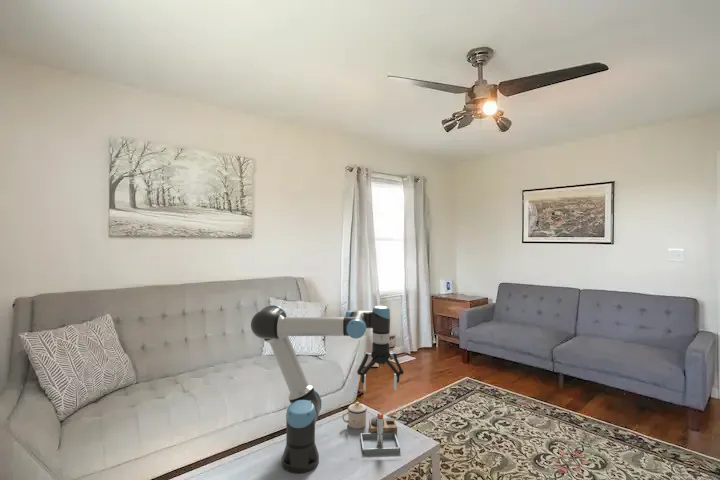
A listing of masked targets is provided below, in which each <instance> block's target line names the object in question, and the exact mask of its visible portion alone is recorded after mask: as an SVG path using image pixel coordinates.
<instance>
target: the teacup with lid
mask: <svg viewBox="0 0 720 480" xmlns="http://www.w3.org/2000/svg"><path fill="white" fill-rule="evenodd" d="M347 410H348V411H345V412H343V414H342V417H341V419H342V422H344V423H346V424H347V425H348V426H349V427H350V428H352V429H362V428H365V427H366V426H367V406H366V404H365V405H364V404H363V403H360V402H359V401H355V403H352V404H350V405H349V406H348V407H347ZM346 415H348V416H347V417H348V418H347V419H348V420H346V419H345V416H346Z"/></svg>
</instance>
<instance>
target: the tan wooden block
mask: <svg viewBox="0 0 720 480" xmlns="http://www.w3.org/2000/svg"><path fill="white" fill-rule="evenodd" d="M368 427H369V433H377V416H376V417H375V416H374V417H372V418H369V419H368ZM392 432H395V434H396V437H398V426H397V423H396V421H395V418H394V417H385V418H384V417H383V433H392Z"/></svg>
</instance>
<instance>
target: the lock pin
mask: <svg viewBox="0 0 720 480" xmlns="http://www.w3.org/2000/svg"><path fill="white" fill-rule="evenodd" d="M376 415H377V416H376V417H377V438H376V446H377V448H383V446H384V438H383V418H384V414H383V413H381V412H378V413H377V414H376Z"/></svg>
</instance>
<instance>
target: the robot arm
mask: <svg viewBox="0 0 720 480" xmlns="http://www.w3.org/2000/svg"><path fill="white" fill-rule="evenodd" d="M390 311H391V310H390V308H389V307H388V306H385V305H375V306H373V307H372V310H356V309H353V310H346V311H345V315H344V316H345V317H344V316H342V317H341V316H326V317H325V316H324V317H323V316H313V317H312V316H311V317H307V316H305V317H304V316H301V317H299V316H298V317H297V316H295V317H293V316H292V317H290V316H289V317H287V316H288V315H287V313H286V311H285V310H284V308H283V307H281V306H279V305H276V304H271V305H267V306H265V307H263V308H262V309H261V310H259V311H258V312H256V313H255V314H254V316H252V318H251V321H250V328H251V331H252V333H253V335H254V336H256V337H257V338H260V339H263V340H264V342H266V343H269V346H270V347H271V349H272V353H273V355H274V358H275V360H276V362H277V364H278V368H279V369H280V372H281V374H282V377H283V380H284V381H285V384H286V385H287V388H288V389H287V390H288V392H289V395H288V401H289V403H290V404H289V405H288V406H287V408H286V415H285V420H286V421H285V422H286V430H285V434H286V435H285V437H286V440H285V441H286V444H285V447H284V451H283V453H282V455H281V456H282V457H281V466H282V468H283V469H284V470H285V471H286V472H289V473H294V474H302V473H303V474H304V473H307V472H310V471H313V470H314V469H316V468H317V466H318V465H319V462H320V454H319V452H318V448H317V445H316V423H317V419H318V417H319V415H320V412H321V409H322V397H321V395H320V394H319V392H318V391H317V390H315V389H314V386H313V385H312V384H310V383H308V380H307V378H306V376H305V373H304V371H303V369H302V366H301V364H300V361H299V358H298V356H297V354H296V352H295V349H294V347H293V344H292V342H291V339H290V337H350V338H352V339H357V340H358V339H361V338H362V337H363V336H364V334H365V333H366V331H367V329H372V334H371V335H372V344H371V345H372V346H371V350H372V351H371V353H370V352H367V351H365V352H364V357H363V359H362V361H361V362H360V365H359V366H358V369H357V371H356V372H357V375H358V376H360V381H361V384H363V392H366V391H367V375H366V374H367V373H368V372H369V370H371V368H372V367H373V366H374V365H375V364H382V365H385V363H386V364H387V365H388V367H390V369H391V370H392V371H393V372H394V374H393V375H394V376H393V389H394V391H396V392H397V389H398V383H400V376H401V375H404V370H403V368H402V366H401V364H400V362H399V360H398V357H397V352H396V351H393V352H390V341H391V340H390V332H391V331H390V329H391V328H390V327H391V312H390ZM370 357H371V360H370V362H369V363H367V361H368V359H370ZM390 358H392V359H393V360H394V363H395V364H396V366H397V368H398V369H397V368H396V367H395V366H394V364H393V363H392V362H391V361H390ZM366 364H367V365H366Z"/></svg>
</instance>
